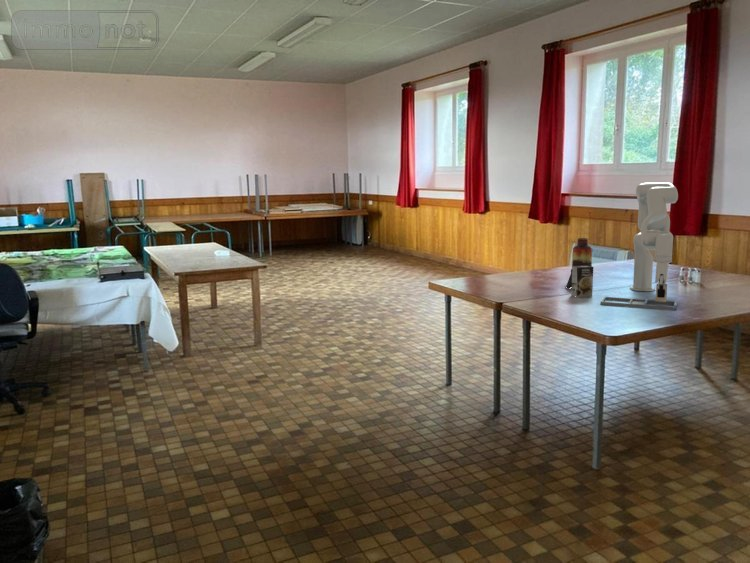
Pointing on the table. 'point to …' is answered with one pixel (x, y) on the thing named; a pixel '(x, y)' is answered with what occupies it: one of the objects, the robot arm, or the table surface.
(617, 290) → the table surface
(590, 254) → the vase
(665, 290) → the tan wooden block
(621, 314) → the table surface
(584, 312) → the table surface
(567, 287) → the phone stand
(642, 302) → the grey flat frame
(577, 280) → the coffee box
